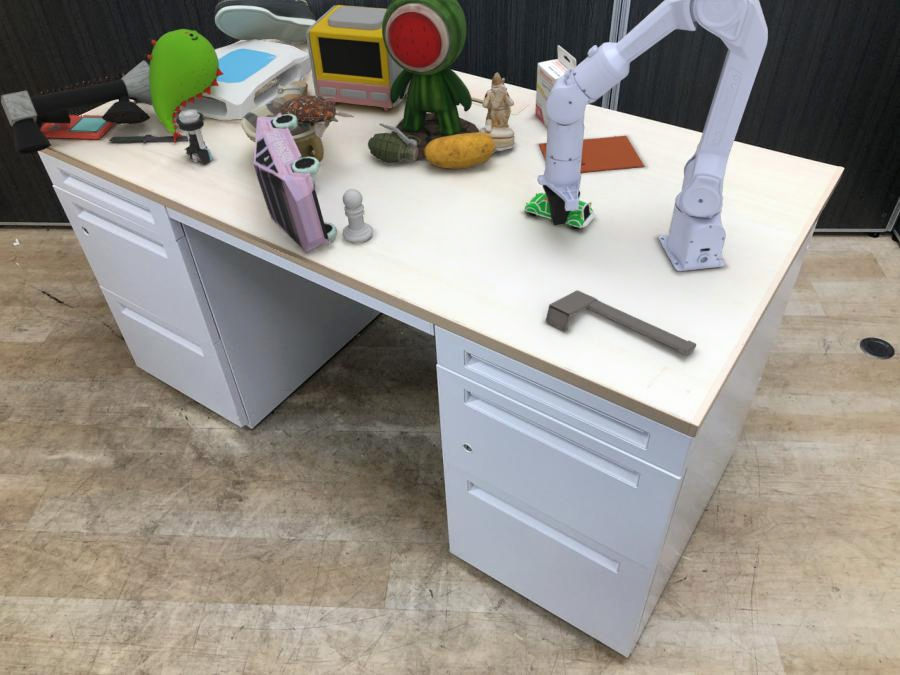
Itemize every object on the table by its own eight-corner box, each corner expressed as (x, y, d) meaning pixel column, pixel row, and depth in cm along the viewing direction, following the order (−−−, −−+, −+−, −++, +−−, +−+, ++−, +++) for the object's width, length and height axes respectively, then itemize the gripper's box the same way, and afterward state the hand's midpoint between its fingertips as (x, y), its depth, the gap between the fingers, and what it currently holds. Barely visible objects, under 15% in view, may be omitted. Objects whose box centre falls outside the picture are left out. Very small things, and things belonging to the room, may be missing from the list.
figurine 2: (506, 145, 159) (508, 69, 152) (520, 152, 153) (523, 73, 146) (473, 147, 157) (474, 70, 150) (485, 154, 151) (487, 74, 144)
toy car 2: (596, 219, 135) (599, 198, 132) (584, 234, 132) (586, 213, 129) (535, 201, 140) (536, 180, 137) (522, 215, 137) (523, 194, 134)
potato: (497, 172, 147) (493, 140, 142) (426, 179, 148) (420, 148, 144) (496, 152, 152) (493, 120, 148) (428, 158, 154) (423, 128, 149)
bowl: (358, 154, 154) (352, 109, 148) (291, 193, 144) (282, 147, 138) (298, 129, 163) (291, 86, 156) (231, 164, 153) (220, 120, 146)
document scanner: (167, 109, 172) (159, 82, 168) (242, 60, 190) (237, 35, 186) (243, 125, 165) (237, 98, 161) (314, 73, 183) (310, 47, 179)
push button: (177, 160, 155) (163, 114, 148) (196, 149, 158) (184, 103, 152) (201, 168, 152) (187, 122, 146) (220, 157, 156) (208, 111, 149)
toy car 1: (344, 247, 131) (288, 265, 129) (310, 176, 148) (260, 190, 146) (326, 174, 120) (264, 192, 119) (291, 106, 138) (237, 121, 136)
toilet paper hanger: (691, 359, 111) (697, 342, 109) (665, 380, 105) (671, 362, 104) (575, 305, 121) (578, 289, 120) (545, 321, 115) (549, 304, 114)
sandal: (260, 120, 167) (256, 98, 163) (288, 89, 178) (284, 68, 175) (289, 122, 166) (285, 100, 162) (315, 91, 177) (311, 69, 173)
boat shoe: (207, 34, 177) (193, -1, 178) (300, 53, 201) (288, 23, 202) (235, 4, 171) (221, -32, 172) (328, 28, 195) (315, -3, 196)
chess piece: (362, 246, 131) (356, 202, 125) (336, 238, 133) (329, 194, 127) (379, 230, 134) (374, 186, 128) (354, 223, 136) (347, 178, 130)
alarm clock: (314, 107, 170) (300, 24, 158) (342, 77, 181) (331, -3, 169) (397, 117, 166) (390, 31, 153) (420, 85, 177) (415, 3, 164)
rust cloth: (644, 166, 148) (644, 164, 147) (552, 175, 146) (552, 172, 146) (625, 136, 156) (626, 134, 156) (538, 144, 155) (539, 142, 155)
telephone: (155, 132, 175) (15, 164, 161) (134, 77, 173) (-10, 105, 159) (168, 113, 162) (16, 146, 148) (146, 54, 160) (-11, 82, 146)
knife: (106, 141, 160) (111, 134, 162) (108, 145, 161) (112, 138, 163) (193, 139, 160) (196, 132, 162) (194, 142, 161) (197, 135, 163)
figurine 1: (376, 155, 154) (358, -1, 134) (410, 112, 168) (399, -35, 148) (457, 165, 149) (452, 6, 129) (485, 120, 163) (485, -30, 143)
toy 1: (168, 30, 164) (238, 48, 165) (146, 137, 166) (215, 155, 167) (147, 11, 151) (223, 30, 152) (124, 128, 154) (198, 146, 155)
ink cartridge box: (533, 115, 164) (536, 47, 154) (554, 111, 166) (558, 43, 156) (552, 133, 158) (556, 63, 148) (573, 128, 160) (579, 59, 150)
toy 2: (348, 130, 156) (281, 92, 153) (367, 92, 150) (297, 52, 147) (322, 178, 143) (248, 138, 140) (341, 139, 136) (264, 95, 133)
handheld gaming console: (53, 113, 170) (117, 114, 168) (55, 118, 171) (118, 120, 169) (31, 132, 163) (97, 134, 162) (33, 137, 164) (99, 139, 162)
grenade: (376, 114, 151) (424, 125, 149) (375, 148, 156) (421, 159, 154) (363, 126, 146) (412, 137, 144) (362, 161, 151) (410, 173, 149)
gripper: (530, 132, 128) (527, 202, 137) (549, 178, 117) (544, 250, 126) (571, 129, 128) (566, 198, 137) (594, 173, 118) (586, 246, 127)
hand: (558, 223), depth 132 cm, fingers closed
